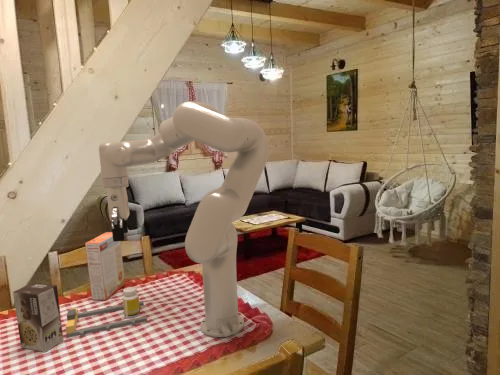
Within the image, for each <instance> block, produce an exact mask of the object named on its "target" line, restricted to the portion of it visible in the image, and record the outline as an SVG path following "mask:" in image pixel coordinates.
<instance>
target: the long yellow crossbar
mask: <svg viewBox="0 0 500 375" xmlns="http://www.w3.org/2000/svg"><path fill="white" fill-rule="evenodd" d="M78 313H79V312H78V307H75V308H74V307H73V308H70V309H68V310H67V313H66V325H65V333H66V334H67V333H72V332H74V331H75V330H77V326H78V325H77V324H78V319H79V318H78Z"/></svg>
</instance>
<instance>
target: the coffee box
mask: <svg viewBox="0 0 500 375" xmlns="http://www.w3.org/2000/svg"><path fill="white" fill-rule="evenodd" d="M58 292H59V291H58V285H56V284H48V283H47V284H46V283H38V282H31V283H29V284H27V285H25V286H23V287H20V288H18V289H17V290H14V291H13V292H12V294H13V295H12V296H13V302H14V309H15V315H16V324H17V328H18V334H19V342H20V343H19V344H20V348H22V349H28V350H32V351H37V352H38V351H39V352H43V353H44V352H45V353H46V352H48V351H49V350H51V349H53V348H54V347H55V346H57V345H59V344H60V343H61V342H63V341H64V335H63V334H64V333H63V327H62V326H63V325H62V318H61V310H60V300H59V293H58Z"/></svg>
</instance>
